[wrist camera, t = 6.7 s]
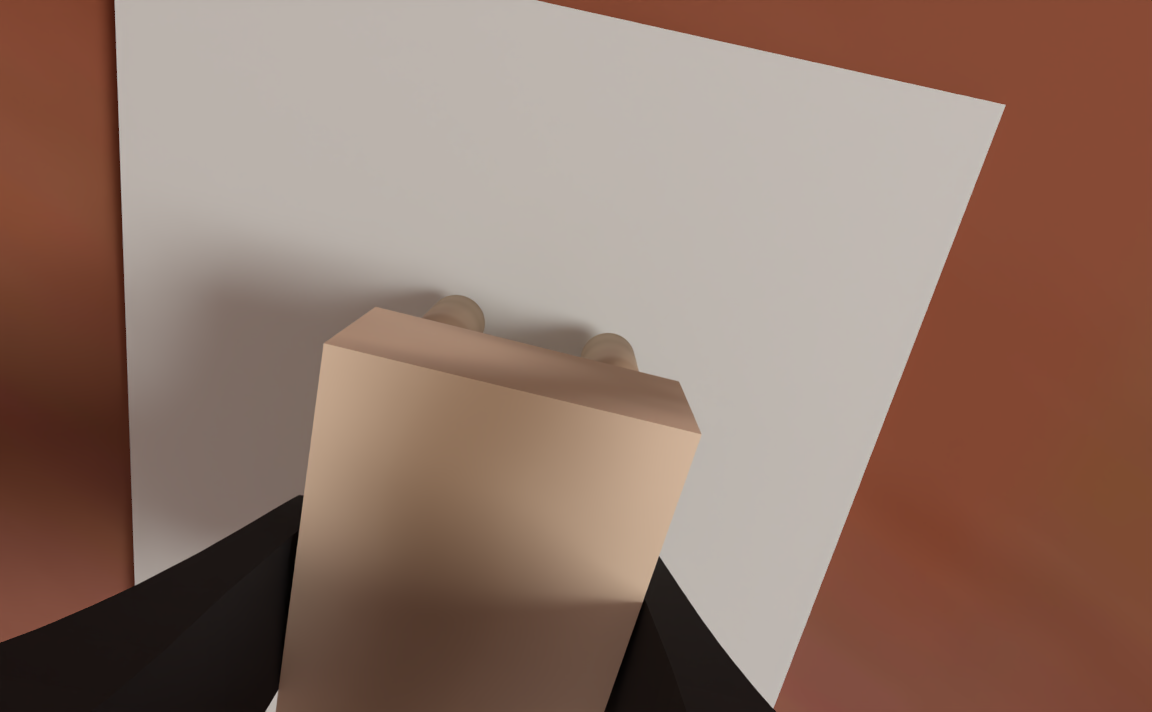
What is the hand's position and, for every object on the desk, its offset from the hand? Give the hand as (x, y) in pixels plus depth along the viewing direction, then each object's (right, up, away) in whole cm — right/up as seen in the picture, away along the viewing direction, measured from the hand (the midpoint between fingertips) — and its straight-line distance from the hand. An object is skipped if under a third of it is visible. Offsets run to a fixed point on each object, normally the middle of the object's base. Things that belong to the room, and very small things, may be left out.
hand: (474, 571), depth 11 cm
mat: (0, +2, +5) cm, 5 cm away
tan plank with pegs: (0, +1, +3) cm, 4 cm away
